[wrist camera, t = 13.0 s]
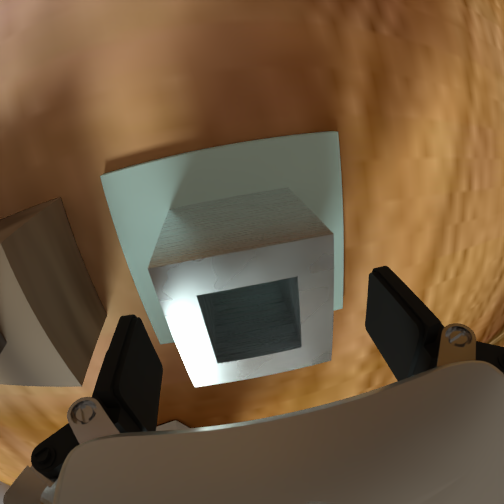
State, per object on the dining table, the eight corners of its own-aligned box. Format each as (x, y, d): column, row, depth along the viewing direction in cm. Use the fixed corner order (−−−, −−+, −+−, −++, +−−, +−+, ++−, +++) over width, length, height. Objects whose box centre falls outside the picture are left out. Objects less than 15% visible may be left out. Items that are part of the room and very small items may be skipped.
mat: (333, 130, 14) (338, 131, 14) (339, 302, 19) (342, 308, 19) (103, 173, 14) (100, 176, 13) (161, 338, 19) (160, 344, 18)
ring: (288, 187, 15) (333, 233, 9) (296, 287, 17) (331, 360, 12) (169, 208, 14) (147, 268, 9) (195, 306, 17) (194, 387, 12)
